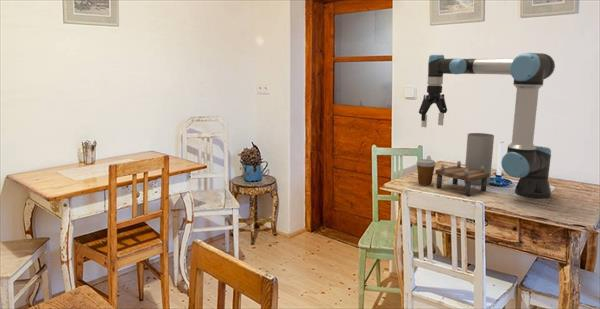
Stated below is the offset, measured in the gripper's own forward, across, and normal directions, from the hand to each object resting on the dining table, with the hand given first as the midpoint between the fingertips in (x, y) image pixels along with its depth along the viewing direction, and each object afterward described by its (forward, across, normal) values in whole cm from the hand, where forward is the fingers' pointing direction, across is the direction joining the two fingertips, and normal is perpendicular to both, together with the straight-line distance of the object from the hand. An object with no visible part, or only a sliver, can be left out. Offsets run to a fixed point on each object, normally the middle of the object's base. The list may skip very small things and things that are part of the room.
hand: (432, 126), depth 248 cm
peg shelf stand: (+28, +6, +24) cm, 38 cm away
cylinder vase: (+28, -12, +21) cm, 37 cm away
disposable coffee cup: (+28, +12, +7) cm, 32 cm away
